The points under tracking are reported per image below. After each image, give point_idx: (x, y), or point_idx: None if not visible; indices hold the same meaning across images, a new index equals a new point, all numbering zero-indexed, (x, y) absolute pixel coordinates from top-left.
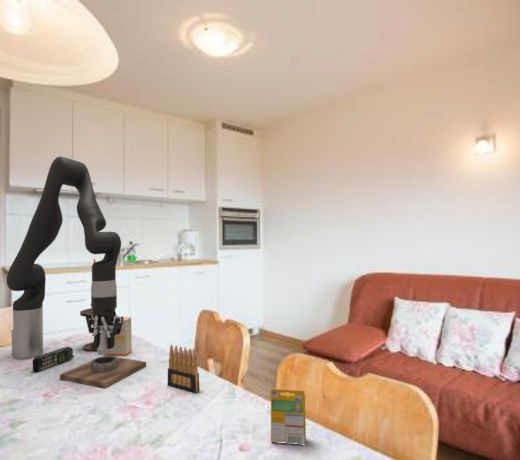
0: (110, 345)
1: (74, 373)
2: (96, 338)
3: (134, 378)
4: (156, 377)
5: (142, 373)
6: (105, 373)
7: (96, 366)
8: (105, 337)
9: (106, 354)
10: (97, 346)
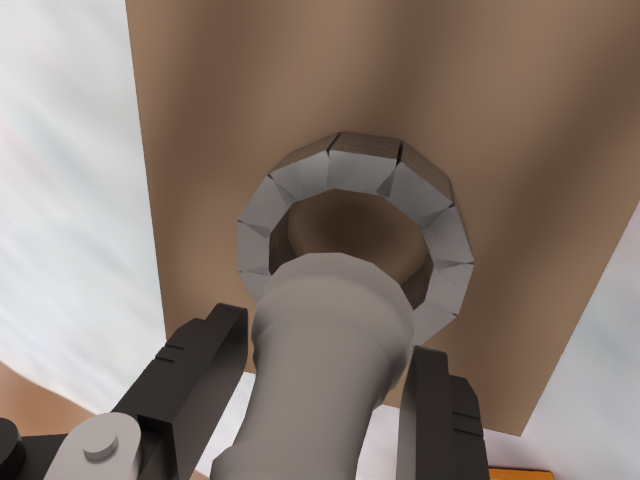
0: (189, 334)
1: (566, 67)
2: (422, 449)
3: (108, 169)
4: (16, 206)
5: (125, 245)
6: (273, 137)
7: (346, 147)
8: (234, 444)
9: (545, 474)
10: (414, 354)
